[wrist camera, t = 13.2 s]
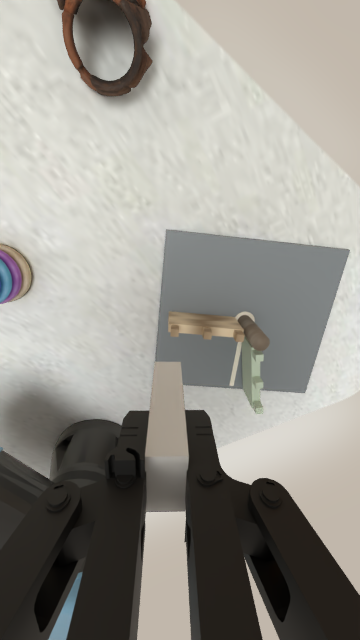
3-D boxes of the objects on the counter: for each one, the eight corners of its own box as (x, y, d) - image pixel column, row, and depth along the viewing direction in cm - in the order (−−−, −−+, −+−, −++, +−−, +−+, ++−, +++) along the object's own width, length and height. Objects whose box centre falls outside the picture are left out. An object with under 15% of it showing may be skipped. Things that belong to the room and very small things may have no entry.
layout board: (303, 391, 45) (305, 393, 45) (153, 381, 44) (153, 383, 43) (347, 249, 37) (350, 249, 37) (166, 229, 36) (166, 229, 35)
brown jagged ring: (173, 18, 29) (170, 22, 23) (132, 106, 35) (122, 125, 29) (62, -103, 23) (26, -133, 18) (36, 26, 29) (3, 32, 24)
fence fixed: (252, 315, 40) (271, 335, 32) (249, 328, 40) (267, 351, 33) (169, 308, 39) (169, 327, 32) (167, 321, 40) (167, 343, 32)
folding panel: (241, 332, 40) (255, 353, 34) (249, 331, 40) (264, 352, 34) (242, 387, 44) (255, 415, 37) (249, 387, 44) (263, 414, 37)
